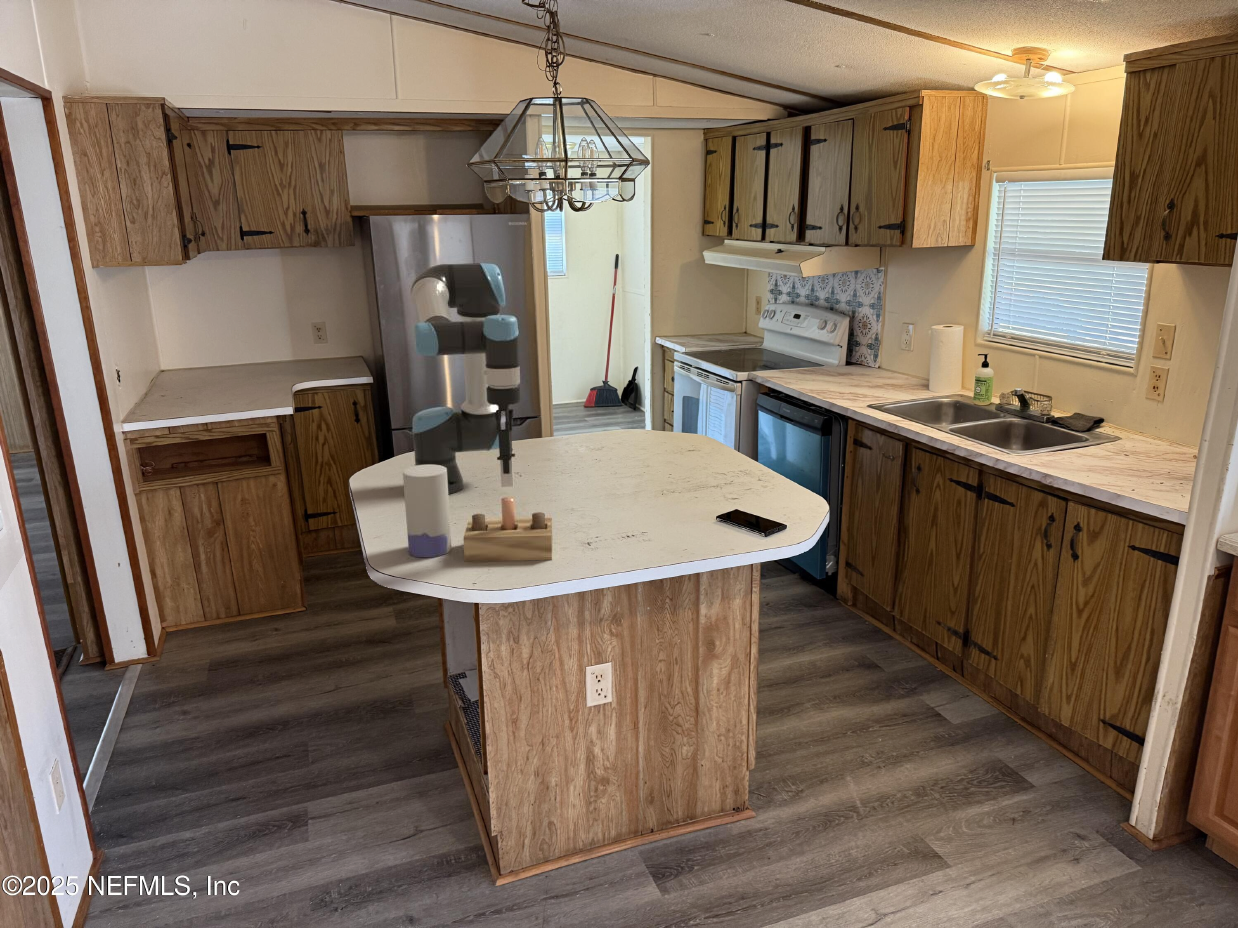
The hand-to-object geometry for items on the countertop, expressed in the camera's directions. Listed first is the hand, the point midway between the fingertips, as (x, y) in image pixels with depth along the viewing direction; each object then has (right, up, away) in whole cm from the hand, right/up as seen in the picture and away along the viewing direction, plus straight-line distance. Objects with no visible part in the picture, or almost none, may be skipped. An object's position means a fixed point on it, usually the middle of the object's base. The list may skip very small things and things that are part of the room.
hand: (507, 485), depth 200 cm
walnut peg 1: (-7, -15, +4) cm, 17 cm away
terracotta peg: (0, -11, +3) cm, 11 cm away
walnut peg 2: (+7, -15, +5) cm, 17 cm away
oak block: (0, -16, +5) cm, 16 cm away
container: (-19, -16, +5) cm, 25 cm away
